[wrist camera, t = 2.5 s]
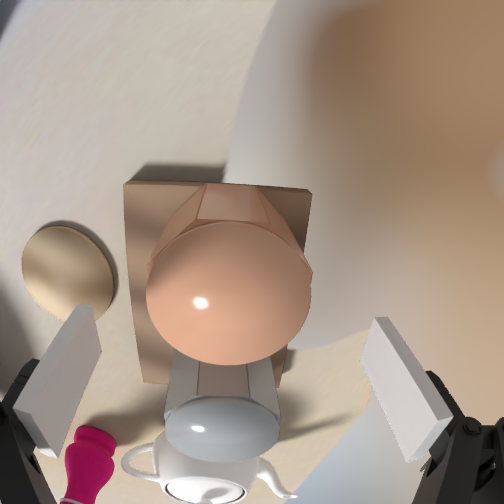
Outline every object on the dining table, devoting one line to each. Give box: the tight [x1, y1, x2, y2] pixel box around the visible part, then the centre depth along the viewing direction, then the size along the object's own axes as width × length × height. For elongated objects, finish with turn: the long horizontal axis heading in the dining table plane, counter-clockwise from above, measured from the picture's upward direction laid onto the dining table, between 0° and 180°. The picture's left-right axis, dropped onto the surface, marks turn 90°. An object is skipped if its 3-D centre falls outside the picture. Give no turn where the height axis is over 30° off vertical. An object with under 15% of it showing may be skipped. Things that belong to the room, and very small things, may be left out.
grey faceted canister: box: [164, 349, 281, 463], centre depth 25 cm, size 8×8×9 cm
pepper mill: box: [60, 426, 116, 504], centre depth 28 cm, size 7×7×20 cm
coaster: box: [22, 226, 114, 322], centre depth 26 cm, size 10×10×1 cm
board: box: [123, 180, 312, 388], centre depth 28 cm, size 20×14×2 cm
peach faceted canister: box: [146, 183, 313, 365], centre depth 20 cm, size 8×8×9 cm
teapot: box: [121, 431, 298, 504], centre depth 32 cm, size 22×14×11 cm, turn 74°
